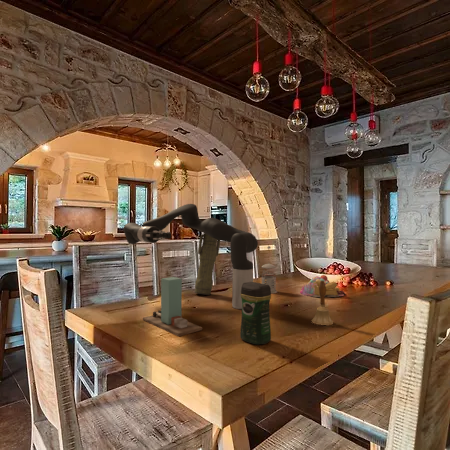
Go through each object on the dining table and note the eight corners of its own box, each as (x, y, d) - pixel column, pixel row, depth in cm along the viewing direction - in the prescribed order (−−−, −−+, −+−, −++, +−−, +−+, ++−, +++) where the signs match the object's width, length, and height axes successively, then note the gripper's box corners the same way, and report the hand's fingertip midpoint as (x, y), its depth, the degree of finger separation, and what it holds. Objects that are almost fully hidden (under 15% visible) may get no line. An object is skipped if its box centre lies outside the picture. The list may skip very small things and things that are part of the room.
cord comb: (142, 319, 125) (142, 310, 125) (165, 315, 132) (165, 306, 132) (178, 336, 107) (178, 325, 107) (202, 329, 114) (202, 319, 114)
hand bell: (330, 327, 118) (331, 283, 117) (308, 323, 122) (308, 281, 122) (336, 321, 125) (336, 280, 125) (314, 318, 129) (315, 278, 129)
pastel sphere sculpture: (354, 297, 168) (354, 279, 168) (314, 300, 161) (314, 281, 161) (325, 288, 192) (326, 272, 192) (290, 290, 185) (290, 273, 185)
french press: (280, 291, 180) (280, 246, 180) (271, 294, 170) (272, 247, 170) (264, 289, 186) (264, 245, 185) (255, 292, 176) (255, 246, 176)
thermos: (216, 295, 170) (225, 229, 173) (198, 294, 163) (208, 225, 166) (206, 292, 177) (215, 228, 180) (188, 291, 170) (198, 225, 173)
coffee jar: (275, 341, 103) (275, 283, 103) (258, 347, 98) (259, 286, 98) (252, 333, 111) (253, 279, 110) (236, 339, 105) (236, 281, 105)
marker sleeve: (161, 321, 119) (161, 278, 119) (173, 318, 123) (174, 276, 123) (168, 324, 116) (168, 280, 116) (181, 321, 119) (181, 278, 119)
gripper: (161, 242, 155) (182, 243, 142) (135, 243, 146) (155, 245, 133) (161, 226, 155) (182, 226, 142) (135, 226, 146) (155, 226, 133)
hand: (169, 235), depth 138 cm, fingers closed
